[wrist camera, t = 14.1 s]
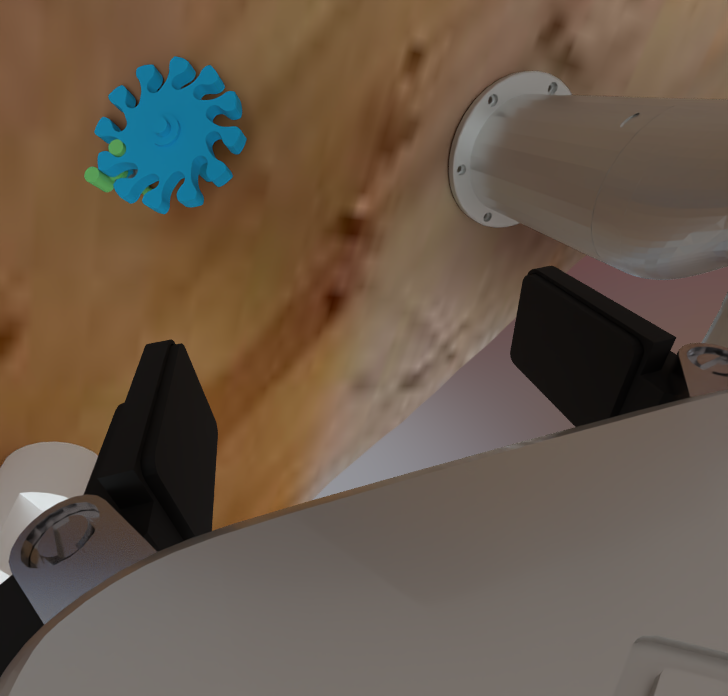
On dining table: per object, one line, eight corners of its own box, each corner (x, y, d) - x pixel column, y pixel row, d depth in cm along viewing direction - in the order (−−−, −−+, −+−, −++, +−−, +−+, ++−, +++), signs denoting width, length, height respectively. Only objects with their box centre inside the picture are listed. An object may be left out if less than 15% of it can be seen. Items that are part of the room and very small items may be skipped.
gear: (207, 22, 24) (258, 162, 23) (248, 92, 30) (291, 207, 29) (54, 98, 25) (95, 236, 24) (123, 151, 31) (158, 265, 30)
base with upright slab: (123, 483, 44) (95, 593, 34) (39, 511, 43) (-15, 633, 33) (75, 430, 39) (25, 543, 29) (-23, 460, 37) (-108, 589, 28)
